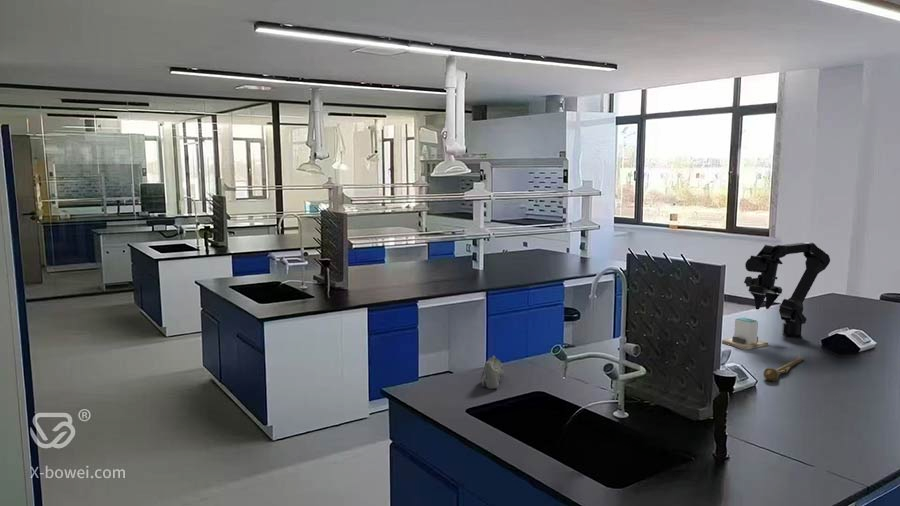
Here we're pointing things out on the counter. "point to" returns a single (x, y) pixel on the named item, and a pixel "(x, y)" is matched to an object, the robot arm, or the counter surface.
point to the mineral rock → (492, 373)
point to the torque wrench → (779, 370)
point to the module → (746, 329)
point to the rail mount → (742, 345)
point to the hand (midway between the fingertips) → (762, 309)
